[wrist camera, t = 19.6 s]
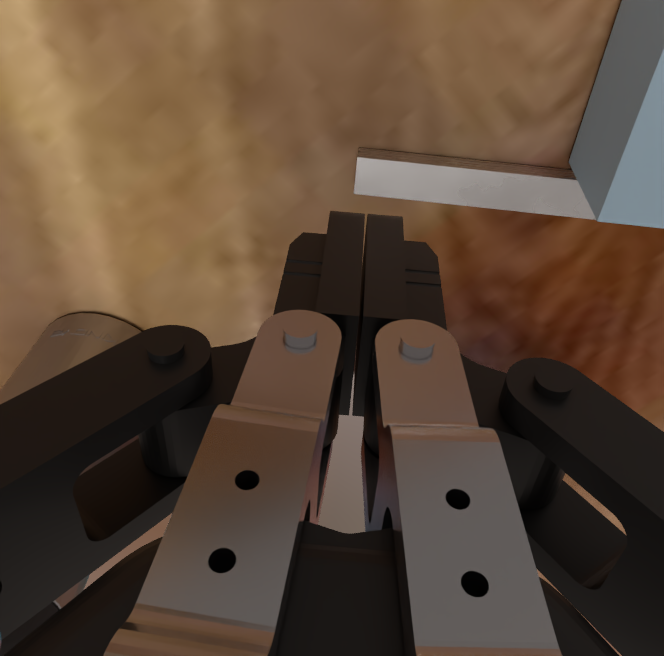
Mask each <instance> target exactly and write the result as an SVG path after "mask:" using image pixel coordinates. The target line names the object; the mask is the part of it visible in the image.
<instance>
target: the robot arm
mask: <svg viewBox="0 0 664 656" xmlns="http://www.w3.org/2000/svg"><path fill="white" fill-rule="evenodd" d="M364 219H365V214H361V213H349V212H337V211H330V216H329V223H328V229H327V234H317V233H305V232H303V233H302V234H301V235H300V236H299V237H298V238H296V239H295V240H294V241H293V242H292V243H291V244H290V247H289V251H288V255H287V259H286V263H285V268H284V274H283V276H282V280H281V285H280V289H279V293H278V297H277V302H276V306H275V310H274V314H273V316H271V317H270V318H268V319H267V320H266V321H265V322H264V323H263V324H262V325H261V327H260V329H259V331H258V334H257V337H255V338H253V339H251V340H248V341H246V342H242V343H239V344H234V345H227V346H220V347H213V348H211V346H210V343H209V341H208V339H207V338H206V337H205V336H204V335H203V334H202V333H200V332H199V331H197V330H195V329H192V328H189V327H185V326H179V325H165V326H158V327H154V328H150V329H147V330H145V331H143V332H141V331H140V330H138V329H137V328H135V327H133V326H131V325H129V324H128V323H126V322H124V321H121V320H118V319H115V318H112V317H110V316H105V315H100V314H93V313H78V314H72V315H67V316H64V317H62V318H59V319H57V320H55V321H54V322H53V323H51V324H50V325H49V326H48V327H47V328H46V330H45V331H44V332H43V334H42V335H41V336H40V338H39V339H38V341H37V342H36V343H35V345H34V346H33V347H32V349H31V350H30V351H29V353H28V354H27V355H26V357H25V358H24V359H23V361H22V362H21V364H20V365H19V366H18V367H17V368H16V370H15V371H14V373H13V374H12V375H11V377H10V378H9V379H8V381H7V382H6V384H5V385H4V386H3V388H2V389H1V390H0V656H619V655H618V654H617V653H616V652H615V651H614V649H613V648H612V647H611V646H610V645H609V644H608V643H607V642H606V641H605V640H604V639H603V638H602V637H601V635H600V634H599V633H598V632H597V631H596V630H595V629H594V628H593V627H592V626H591V625H590V624H589V623H588V621H589V622H590V623H591V624H592V625H593V626H594V627H595V628H596V629H597V630H598V631H599V632H600V633H601V634H602V636H603V637H604V638H605V639H606V640H607V641H608V642H609V643H610V644H611V645H612V646H613V647H614V648H615V649H616V650H617V651H618V652H619V653H620V654H621V655H622V656H664V432H663V431H661V430H660V429H659V428H657V427H656V426H654V425H653V424H652V423H650V422H649V421H647V420H646V419H645V418H643V417H642V416H640V415H639V414H638V413H636V412H635V411H634V410H632V409H631V408H629V407H628V406H627V405H625V404H624V403H622V402H621V401H620V400H618V399H617V398H615V397H614V396H613V395H611V394H610V393H609V392H607V391H606V390H604V389H603V388H602V387H600V386H599V385H597V384H596V383H595V382H593V381H592V380H590V379H589V378H588V377H586V376H585V375H583V374H582V373H581V372H579V371H578V370H576V369H575V368H573V367H571V366H569V365H567V364H564V363H562V362H559V361H556V360H552V359H546V358H528V359H523V360H521V361H518V362H516V363H515V364H513V365H512V366H511V367H510V369H509V370H508V372H507V373H504V372H501V371H497V370H494V369H491V368H488V367H485V366H482V365H479V364H477V363H475V362H473V361H471V360H469V359H468V358H466V357H464V356H463V355H462V354H461V353H460V352H459V348H458V345H457V342H456V341H455V339H454V338H453V336H452V335H451V334H450V333H449V332H447V328H446V320H445V312H444V304H443V296H442V288H441V280H440V275H439V264H438V257H437V255H436V254H435V253H434V252H433V251H432V249H431V248H430V247H429V246H428V245H427V243H426V242H414V241H404V235H403V217H399V216H387V215H375V214H368V216H367V224H366V234H365V243H364V253H363V238H364ZM362 256H363V263H362ZM356 342H357V343H356ZM355 351H356V361H355ZM354 361H355V379H354V397H353V414H352V415H353V416H364V430H363V438H362V446H361V464H362V482H363V499H364V516H365V532H361V533H354V534H347V533H341V532H338V531H335V530H332V529H329V528H326V527H322V526H320V525H318V523H319V517H320V512H321V506H322V501H323V496H324V490H325V485H326V480H327V474H328V469H329V463H330V458H331V453H332V443H333V439H334V438H335V436H336V434H337V429H338V418H339V415H349V408H350V399H351V389H352V380H353V370H354ZM565 473H566V474H568V475H569V476H570V477H571V478H572V479H573V480H575V481H576V482H577V483H578V484H579V485H580V486H582V487H583V488H584V489H585V490H586V491H587V492H588V493H590V494H591V495H592V496H593V497H594V498H595V499H597V500H598V501H599V502H600V503H601V504H602V505H604V506H605V507H606V508H607V509H608V510H609V511H611V512H612V513H613V514H614V515H615V516H616V517H617V518H618V520H619V521H620V522H621V524H622V525H623V527H624V529H625V532H626V535H627V536H626V535H625V534H624V533H623V532H622V531H621V530H619V529H618V528H617V527H616V526H615V525H614V524H612V523H611V522H610V521H609V520H608V519H607V518H606V517H604V516H603V515H602V514H601V513H600V512H599V511H598V510H596V509H595V508H594V507H593V506H592V505H591V504H590V503H588V502H587V501H586V500H585V499H584V498H583V497H582V496H580V495H579V494H578V493H577V492H576V491H575V490H574V489H572V488H571V487H570V486H569V485H568V484H567V483H566V482H564V481H563V480H562V479H563V477H564V475H565ZM172 512H173V513H172ZM171 513H172V516H171V518H170V521H169V523H168V526H167V528H166V531H165V533H164V536H163V537H161V538H158V539H156V540H154V541H152V542H150V543H148V544H146V545H144V546H142V547H141V548H139V549H137V550H136V551H134V552H133V553H131V554H129V555H128V556H126V557H125V558H124V559H122V560H121V561H120V562H118V563H117V564H116V565H114V566H113V567H112V568H111V569H110V570H108V571H107V572H106V573H105V574H103V575H102V576H101V577H100V578H98V579H97V580H96V581H95V582H93V583H92V584H91V585H90V586H88V587H87V588H86V589H85V590H83V589H84V587H85V585H86V583H87V580H88V578H89V575H90V574H91V573H92V572H93V571H95V570H96V569H97V568H99V567H100V566H101V565H103V564H104V563H105V562H107V561H108V560H109V559H111V558H112V557H113V556H115V555H116V554H117V553H118V552H120V551H121V550H122V549H124V548H125V547H126V546H128V545H129V544H131V543H132V542H133V541H135V540H136V539H137V538H139V537H140V536H141V535H143V534H144V533H145V532H147V531H148V530H149V529H151V528H152V527H154V526H155V525H156V524H158V523H159V522H160V521H161V520H163V519H164V518H166V517H167V516H168V515H170V514H171ZM536 568H537V569H538V570H539V571H540V572H541V573H542V574H543V575H544V576H545V577H546V578H547V579H548V580H549V581H550V582H551V583H552V585H553V586H554V587H555V588H556V589H557V590H558V591H559V592H560V593H561V594H562V595H561V594H560V593H559V592H558V591H557V590H556V589H554V588H553V587H552V586H551V585H550V584H548V583H547V582H546V581H544V580H543V579H542V578H540V577H539V576H538V573H537V569H536ZM575 608H576V609H577V610H578V611H579V612H580V613H581V614H582V615H583V616H584V617H585V618H586V619H587V620H588V621H587V620H586V619H585V618H584V617H583V616H582V615H581V614H580V613H579V612H578V611H577V610H576V609H575Z"/></svg>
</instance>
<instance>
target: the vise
mask: <svg viewBox="0 0 664 656" xmlns="http://www.w3.org/2000/svg"><path fill="white" fill-rule="evenodd" d="M354 194H360V195H370V196H379V197H388V198H398V199H407V200H416V201H426V202H435V203H444V204H454V205H463V206H472V207H482V208H491V209H500V210H510V211H519V212H528V213H538V214H547V215H556V216H566V217H575V218H584V219H594V220H596V218H595V216H594V214H593V212H592V210H591V208H590V205H589V203H588V201H587V199H586V197H585V195H584V193H583V191H582V189H581V187H580V185H579V183H578V181H577V179H576V177H575V175H574V172H573V170H568V169H559V168H549V167H540V166H530V165H520V164H511V163H501V162H492V161H482V160H473V159H463V158H454V157H444V156H435V155H425V154H415V153H406V152H396V151H387V150H377V149H368V148H359V151H358V157H357V167H356V177H355V187H354Z"/></svg>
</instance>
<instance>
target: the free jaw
mask: <svg viewBox="0 0 664 656" xmlns="http://www.w3.org/2000/svg"><path fill="white" fill-rule="evenodd" d="M569 164H570V166H571V168H572V170H573V172H574V175H575V177H576V179H577V181H578V183H579V185H580V187H581V189H582V191H583V193H584V195H585V197H586V199H587V201H588V203H589V205H590V208H591V210H592V212H593V214H594V216H595V218H596V220H597V221H599V222H608V223H618V224H627V225H636V226H646V227H655V228H664V0H622V1H621V4H620V8H619V11H618V14H617V17H616V20H615V23H614V26H613V29H612V32H611V35H610V38H609V41H608V44H607V47H606V50H605V53H604V56H603V59H602V62H601V65H600V68H599V71H598V74H597V77H596V80H595V83H594V87H593V90H592V93H591V96H590V99H589V102H588V105H587V108H586V111H585V114H584V117H583V120H582V123H581V126H580V129H579V132H578V135H577V138H576V141H575V144H574V147H573V150H572V153H571V156H570V159H569Z"/></svg>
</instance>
